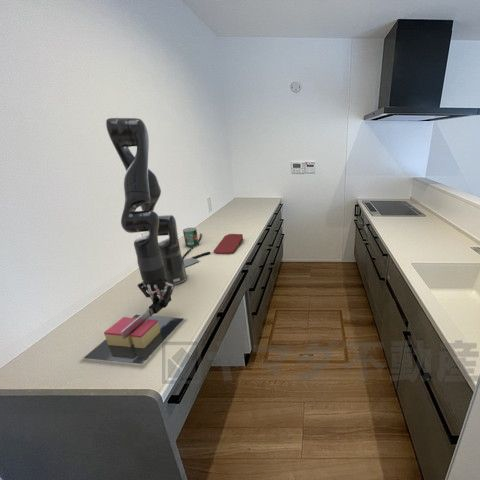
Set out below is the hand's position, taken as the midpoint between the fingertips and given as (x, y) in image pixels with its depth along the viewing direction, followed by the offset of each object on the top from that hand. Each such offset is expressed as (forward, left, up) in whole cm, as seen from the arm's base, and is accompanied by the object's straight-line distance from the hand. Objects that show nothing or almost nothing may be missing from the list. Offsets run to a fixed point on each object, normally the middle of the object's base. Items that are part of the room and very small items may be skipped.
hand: (161, 306), depth 100 cm
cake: (+12, -5, -5) cm, 14 cm away
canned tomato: (-72, -31, -6) cm, 79 cm away
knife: (+7, 0, 0) cm, 7 cm away
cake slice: (+12, +2, -5) cm, 13 cm away
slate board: (+11, -2, -6) cm, 13 cm away
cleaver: (-48, -19, -6) cm, 52 cm away
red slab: (-74, -6, -6) cm, 75 cm away
